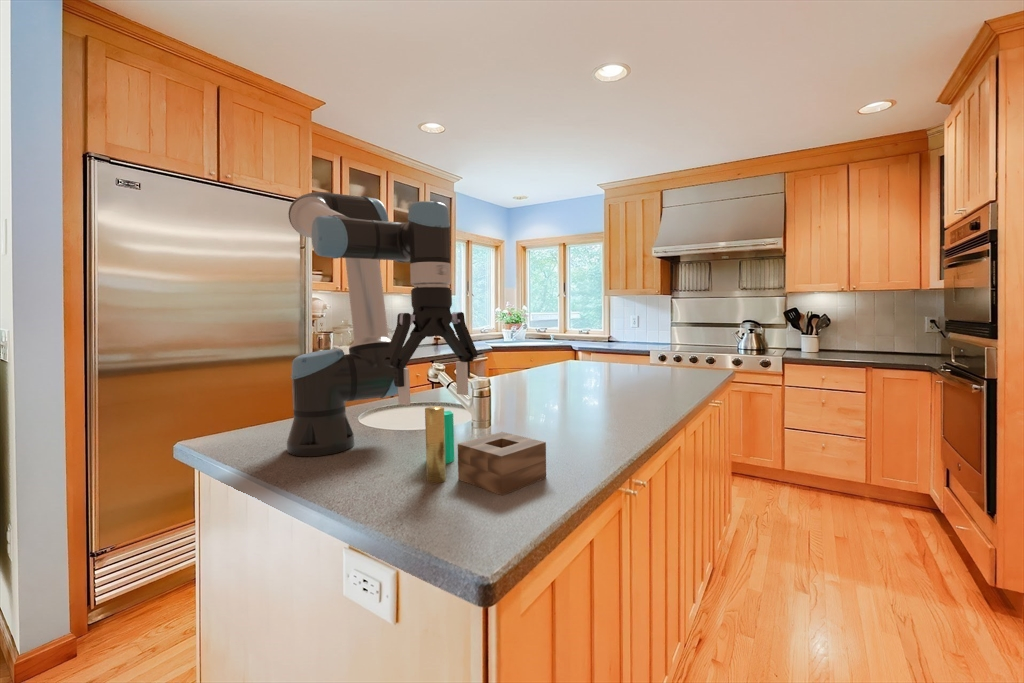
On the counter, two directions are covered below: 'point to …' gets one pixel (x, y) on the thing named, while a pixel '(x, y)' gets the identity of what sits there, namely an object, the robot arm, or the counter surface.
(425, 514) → the counter surface
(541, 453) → the bore block
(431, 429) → the brass pin
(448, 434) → the candle
